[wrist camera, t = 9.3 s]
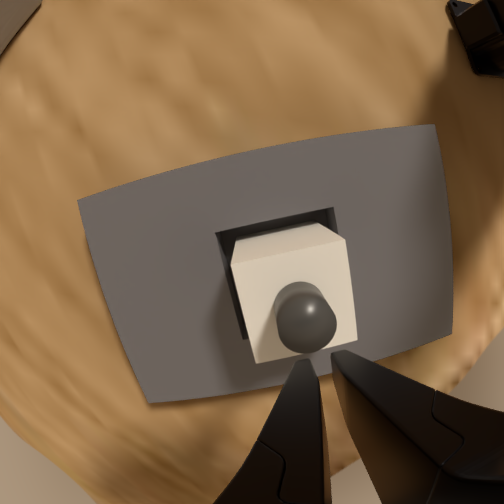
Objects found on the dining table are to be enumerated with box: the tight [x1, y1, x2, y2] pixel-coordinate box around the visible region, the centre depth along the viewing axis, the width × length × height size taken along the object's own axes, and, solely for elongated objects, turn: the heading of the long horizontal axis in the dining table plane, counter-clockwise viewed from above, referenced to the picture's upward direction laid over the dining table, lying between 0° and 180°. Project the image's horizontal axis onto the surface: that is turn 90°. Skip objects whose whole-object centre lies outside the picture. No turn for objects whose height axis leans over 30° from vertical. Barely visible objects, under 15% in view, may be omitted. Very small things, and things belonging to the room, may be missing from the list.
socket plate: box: [77, 124, 453, 403], centre depth 17 cm, size 20×13×2 cm, turn 103°
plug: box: [231, 220, 358, 364], centre depth 14 cm, size 4×4×8 cm
